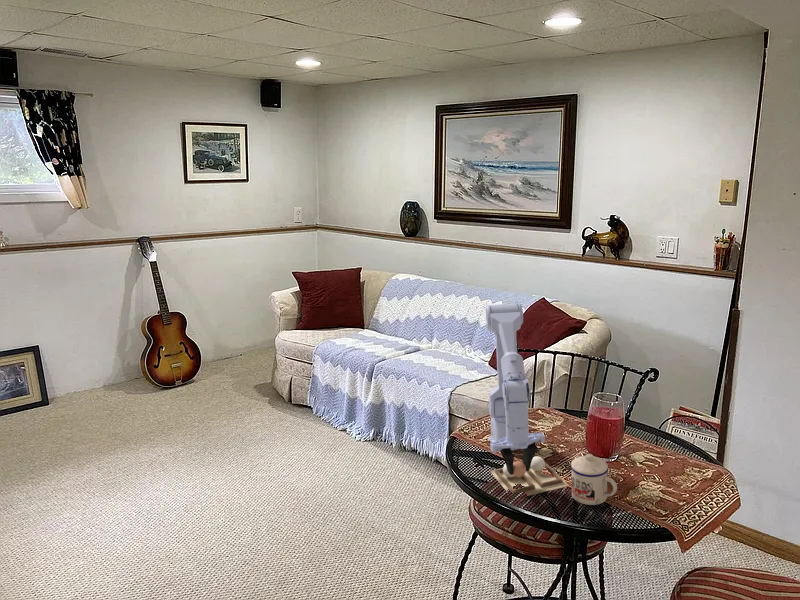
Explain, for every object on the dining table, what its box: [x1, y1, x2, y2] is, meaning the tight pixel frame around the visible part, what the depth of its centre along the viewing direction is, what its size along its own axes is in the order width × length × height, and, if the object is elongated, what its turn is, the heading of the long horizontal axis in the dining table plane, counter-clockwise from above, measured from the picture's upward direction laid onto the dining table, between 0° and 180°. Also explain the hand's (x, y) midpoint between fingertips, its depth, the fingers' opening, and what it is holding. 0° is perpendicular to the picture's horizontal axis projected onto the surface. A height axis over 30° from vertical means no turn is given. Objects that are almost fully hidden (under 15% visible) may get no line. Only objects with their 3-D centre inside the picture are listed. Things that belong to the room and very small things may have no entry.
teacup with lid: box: [570, 453, 618, 506], centre depth 166 cm, size 12×9×12 cm
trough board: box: [489, 460, 570, 497], centre depth 179 cm, size 15×16×1 cm
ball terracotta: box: [513, 460, 526, 477], centre depth 174 cm, size 4×4×4 cm
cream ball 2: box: [530, 455, 546, 472], centre depth 181 cm, size 4×4×4 cm
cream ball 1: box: [502, 463, 515, 478], centre depth 180 cm, size 4×4×4 cm
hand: (518, 470), depth 174 cm, fingers closed on ball terracotta, 4 cm apart
